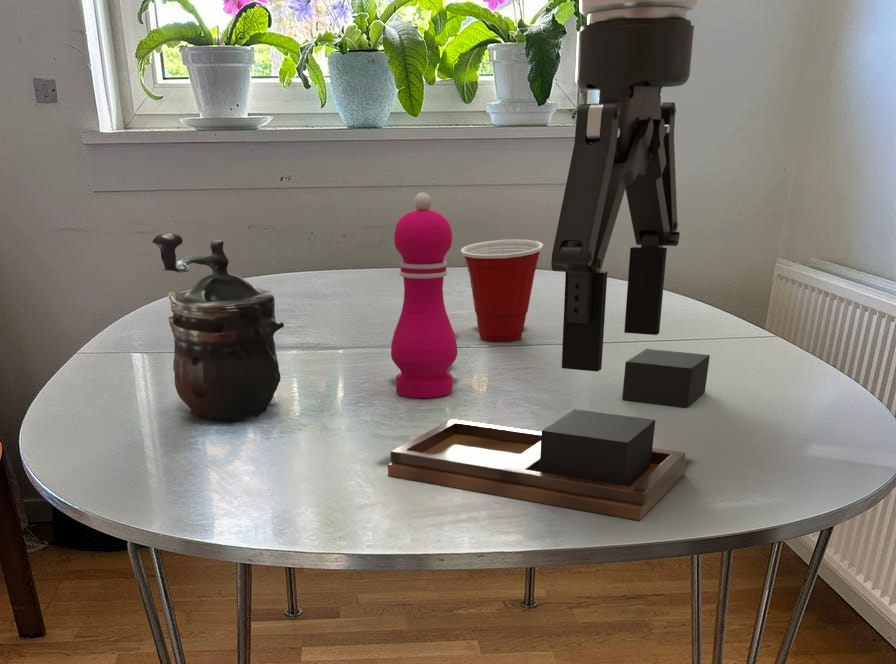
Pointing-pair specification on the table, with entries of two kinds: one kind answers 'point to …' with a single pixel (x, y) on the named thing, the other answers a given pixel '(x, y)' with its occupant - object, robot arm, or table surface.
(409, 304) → the pepper mill
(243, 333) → the coffee grinder
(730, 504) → the table surface
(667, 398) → the dark grey square block
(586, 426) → the black square block
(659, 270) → the robot arm
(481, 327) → the plastic cup
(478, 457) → the divided wooden tray
